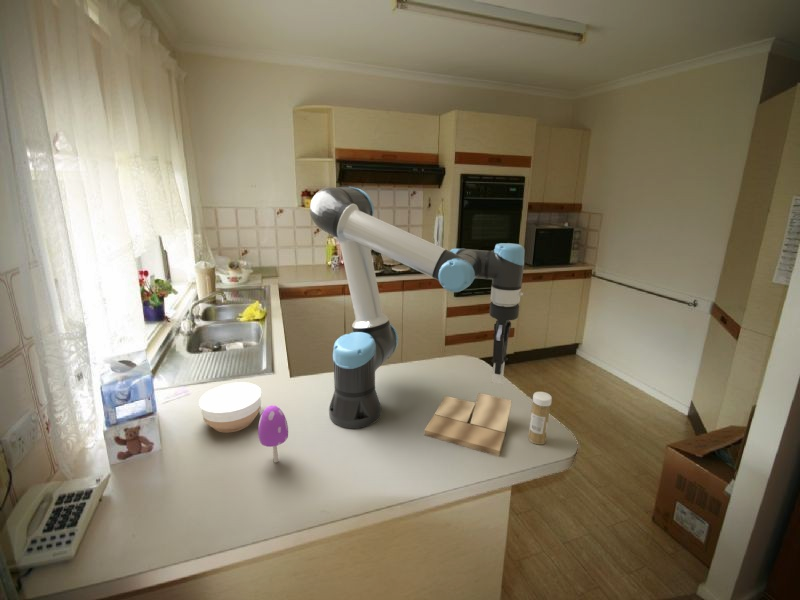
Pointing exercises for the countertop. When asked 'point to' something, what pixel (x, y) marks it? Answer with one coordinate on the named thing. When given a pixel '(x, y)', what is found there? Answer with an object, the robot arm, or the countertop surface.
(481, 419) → the plank
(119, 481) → the countertop surface
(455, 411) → the plank
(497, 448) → the laid board
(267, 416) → the toy
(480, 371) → the countertop surface
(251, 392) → the bowl
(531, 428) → the sprinkles bottle
